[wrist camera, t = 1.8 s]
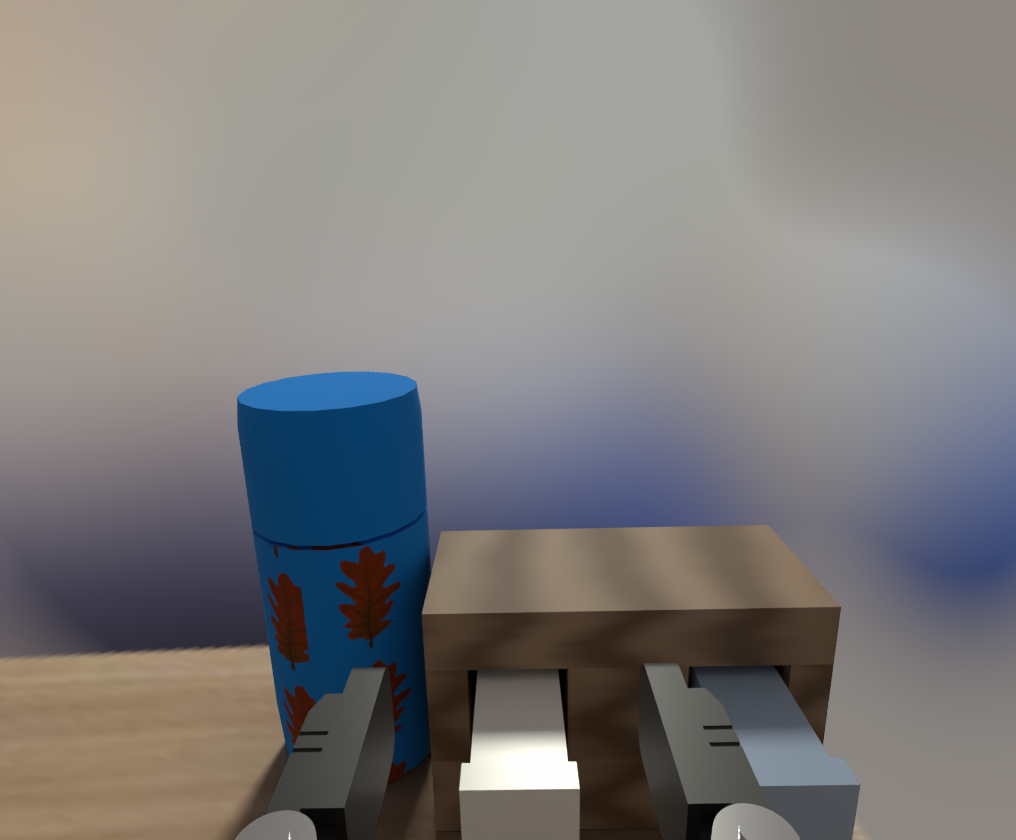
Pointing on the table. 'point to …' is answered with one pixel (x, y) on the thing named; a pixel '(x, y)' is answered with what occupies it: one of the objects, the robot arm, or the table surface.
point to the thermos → (341, 540)
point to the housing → (613, 637)
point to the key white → (519, 761)
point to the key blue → (784, 751)
